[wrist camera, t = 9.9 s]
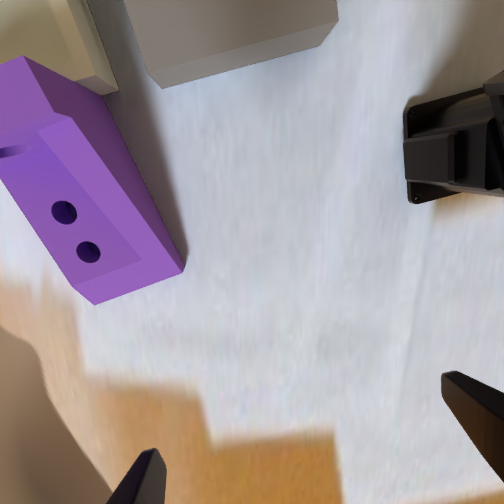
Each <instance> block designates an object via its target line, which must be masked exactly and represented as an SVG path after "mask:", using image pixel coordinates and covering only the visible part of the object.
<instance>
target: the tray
mask: <svg viewBox="0 0 504 504" xmlns="http://www.w3.org/2000/svg"><path fill="white" fill-rule="evenodd" d="M22 55H24V56H26V57H27V58H29V59H31V60H33V61H35V62H37V63H39V64H41V65H43V66H45V67H47V68H49V69H51V70H52V71H54V72H56V73H58V74H60V75H62V76H64V77H66V78H68V79H70V80H72V81H74V82H76V83H78V84H79V85H81V86H83V87H85V88H87V89H89V90H91V91H93V92H95V93H97V94H99V95H101V96H102V95H106V94H109V93H113V92H116V91H119V88H118V85H117V83H116V80H115V77H114V75H113V72H112V69H111V66H110V64H109V61H108V58H107V56H106V53H105V50H104V47H103V45H102V42H101V39H100V37H99V34H98V31H97V28H96V26H95V23H94V20H93V17H92V15H91V12H90V9H89V7H88V4H87V1H86V0H0V64H3V63H5V62H7V61H10V60H12V59H15V58H17V57H19V56H22Z"/></svg>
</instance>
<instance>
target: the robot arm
mask: <svg viewBox="0 0 504 504" xmlns="http://www.w3.org/2000/svg"><path fill="white" fill-rule="evenodd" d="M411 112H414V117H413V118H411V116H410V115H411ZM403 126H404V143H403V149H404V166H405V179H406V180H407V193H408V201H409V202H410V203H413V204H420V203H424V202H428V201H432V200H435V199H439V198H443V197H447V196H450V195H454V194H458V193H461V192H464V193H472V194H480V195H488V196H496V197H504V70H503V71H502V72H500V73H499V74H497V75H496V76H494V77H492V78H491V79H489V80H488V81H486V82H485V83H483V87H482V88H478V89H475V90H471V91H467V92H463V93H460V94H456V95H452V96H449V97H445V98H441V99H438V100H434V101H430V102H427V103H423V104H419V105H415V106H412V107H409V108H407V109H406V110H405V112H404V114H403ZM416 194H418V198H417V199H416V200H415V196H416ZM441 393H442V397H443V399H444V401H445V403H446V404H447V405H448V407H449V408H450V410H451V411H452V413H453V414H454V416H455V417H456V419H457V420H458V421H459V423H460V424H461V426H462V427H463V429H464V430H465V432H466V433H467V435H468V436H469V437H470V439H471V440H472V442H473V443H474V445H475V446H476V448H477V449H478V450H479V452H480V453H481V455H482V456H483V457H484V459H485V460H486V461H487V462H488V464H489V465H490V466H491V467H492V469H493V470H494V471H495V472H496V474H497V475H498V476H499V477H500V479H501V480H502V481H503V482H504V393H503V392H501V391H499V390H496V389H494V388H492V387H490V386H488V385H486V384H484V383H482V382H480V381H478V380H475V379H473V378H471V377H469V376H467V375H465V374H463V373H461V372H458V371H450V372H446V373H443V374H442V375H441ZM166 475H167V469H166V465H165V462H164V460H163V459H162V457H161V455H160V453H159V451H158V449H156V448H151V449H147V450H144V451H143V452H142V453H141V454H140V455H139V456H138V458H137V459H136V461H135V462H134V464H133V465H132V466H131V468H130V469H129V471H128V472H127V474H126V475H125V477H124V478H123V479H122V481H121V482H120V484H119V485H118V487H117V488H116V490H115V491H114V492H113V494H112V496H111V497H110V498H109V500H108V501H107V503H106V504H164V501H165V488H166Z"/></svg>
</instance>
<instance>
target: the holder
mask: <svg viewBox="0 0 504 504" xmlns="http://www.w3.org/2000/svg"><path fill="white" fill-rule="evenodd" d="M123 1H124V4H125V7H126V10H127V13H128V16H129V19H130V22H131V25H132V28H133V31H134V34H135V38H136V41H137V44H138V47H139V50H140V53H141V56H142V59H143V62H144V65H145V68H146V71H147V73H148V74H149V76H150V77H151V78H152V79H153V80H154V81H155V82H156V83H157V84H158V85H159V86H160V87H161V89H164V88H167V87H171V86H175V85H178V84H182V83H185V82H189V81H193V80H196V79H200V78H204V77H207V76H211V75H215V74H218V73H222V72H226V71H229V70H233V69H237V68H240V67H244V66H247V65H251V64H255V63H258V62H262V61H266V60H269V59H273V58H277V57H280V56H284V55H288V54H291V53H295V52H298V51H302V50H306V49H309V48H313V47H317V46H320V45H321V43H322V42H323V41H324V39H325V38H326V37H327V35H328V34H329V33H330V31H331V30H332V29H333V27H334V26H335V25H336V23H337V22H338V21H339V19H338V11H337V2H336V0H123Z"/></svg>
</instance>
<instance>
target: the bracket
mask: <svg viewBox="0 0 504 504" xmlns="http://www.w3.org/2000/svg"><path fill="white" fill-rule="evenodd" d="M0 179H1V180H2V182H3V183H4V185H5V186H6V188H7V189H8V191H9V192H10V194H11V196H12V197H13V199H14V200H15V202H16V203H17V205H18V206H19V208H20V209H21V211H22V212H23V214H24V215H25V217H26V218H27V220H28V221H29V223H30V224H31V226H32V227H33V229H34V230H35V232H36V233H37V235H38V236H39V238H40V239H41V241H42V242H43V244H44V245H45V247H46V248H47V250H48V251H49V253H50V254H51V256H52V257H53V259H54V260H55V262H56V263H57V265H58V266H59V268H60V269H61V271H62V272H63V274H64V275H65V277H66V278H67V280H68V281H69V283H70V285H71V286H72V287H73V288H74V289H75V290H77V291H78V292H79V293H80V294H81V295H83V296H84V297H85V298H86V299H87V300H89V301H90V302H91V303H92V304H93V305H97V304H99V303H102V302H105V301H108V300H110V299H113V298H116V297H118V296H121V295H124V294H127V293H129V292H132V291H135V290H137V289H140V288H143V287H145V286H148V285H151V284H154V283H156V282H159V281H162V280H164V279H167V278H170V277H173V276H175V275H178V274H181V273H182V272H183V270H184V268H185V265H184V263H183V261H182V259H181V257H180V255H179V253H178V251H177V249H176V247H175V245H174V243H173V241H172V239H171V236H170V234H169V232H168V230H167V228H166V226H165V224H164V222H163V220H162V218H161V216H160V214H159V212H158V210H157V208H156V206H155V204H154V202H153V199H152V197H151V195H150V193H149V191H148V189H147V187H146V185H145V183H144V181H143V179H142V177H141V175H140V173H139V171H138V169H137V167H136V165H135V162H134V160H133V158H132V156H131V154H130V152H129V150H128V148H127V146H126V144H125V142H124V140H123V138H122V136H121V134H120V132H119V130H118V127H117V125H116V123H115V121H114V119H113V117H112V115H111V113H110V111H109V109H108V107H107V105H106V103H105V101H104V99H103V97H102V96H101V95H99V94H97V93H95V92H93V91H91V90H89V89H87V88H85V87H83V86H81V85H79V84H78V83H76V82H74V81H72V80H70V79H68V78H66V77H64V76H62V75H60V74H58V73H56V72H54V71H52V70H51V69H49V68H47V67H45V66H43V65H41V64H39V63H37V62H35V61H33V60H31V59H29V58H27V57H26V56H24V55H22V56H19V57H17V58H15V59H12V60H10V61H7V62H5V63H3V64H0ZM66 202H69V203H71V204H72V205H73V206H74V207H75V209H76V211H77V219H74V218H73V217H72V216H71V215H70V214H69V212H68V210H67V207H66ZM88 241H89V242H92V243H94V244H96V245H97V246H98V248H99V249H100V253H101V255H100V256H99V255H97V254H95V253H94V252H93V251H92V250H91V249H90V247H89V244H88Z"/></svg>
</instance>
